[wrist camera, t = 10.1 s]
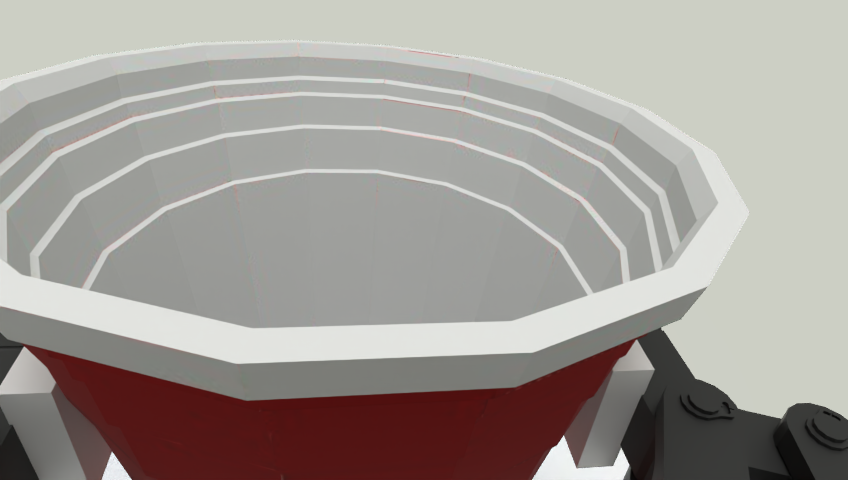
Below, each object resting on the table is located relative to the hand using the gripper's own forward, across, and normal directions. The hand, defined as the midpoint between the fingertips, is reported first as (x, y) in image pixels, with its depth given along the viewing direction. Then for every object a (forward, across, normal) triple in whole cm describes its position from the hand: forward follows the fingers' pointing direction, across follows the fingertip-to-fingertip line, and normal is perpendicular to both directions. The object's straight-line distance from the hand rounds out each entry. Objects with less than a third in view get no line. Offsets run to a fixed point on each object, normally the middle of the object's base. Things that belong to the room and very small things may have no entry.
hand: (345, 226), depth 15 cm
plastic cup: (-5, 0, -7) cm, 8 cm away
